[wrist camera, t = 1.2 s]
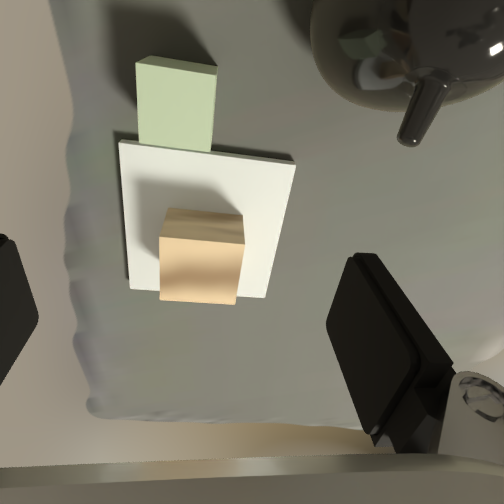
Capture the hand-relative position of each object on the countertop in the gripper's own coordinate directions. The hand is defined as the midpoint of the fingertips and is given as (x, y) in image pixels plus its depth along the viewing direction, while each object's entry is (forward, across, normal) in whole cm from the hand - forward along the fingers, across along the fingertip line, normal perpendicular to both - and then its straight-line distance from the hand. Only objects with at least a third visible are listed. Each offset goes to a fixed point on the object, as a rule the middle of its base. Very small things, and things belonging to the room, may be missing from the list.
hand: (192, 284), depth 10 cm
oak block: (+20, 0, +12) cm, 24 cm away
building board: (+21, 0, +10) cm, 24 cm away
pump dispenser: (+21, -11, -8) cm, 25 cm away
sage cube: (+21, +2, -2) cm, 21 cm away
